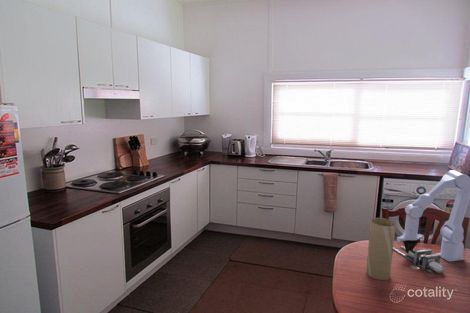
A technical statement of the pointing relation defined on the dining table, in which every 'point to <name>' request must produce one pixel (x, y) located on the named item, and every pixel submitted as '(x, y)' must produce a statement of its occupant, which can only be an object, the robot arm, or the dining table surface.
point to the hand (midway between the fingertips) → (408, 253)
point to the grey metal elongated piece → (431, 263)
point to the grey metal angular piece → (425, 258)
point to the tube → (380, 248)
